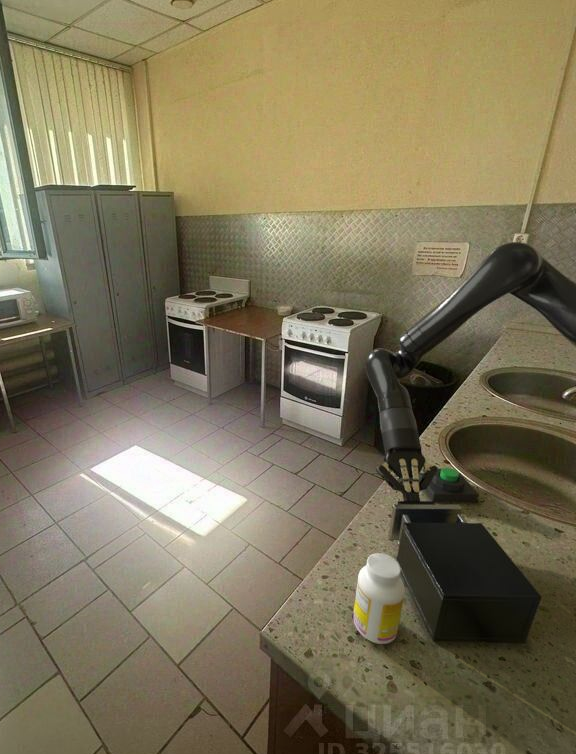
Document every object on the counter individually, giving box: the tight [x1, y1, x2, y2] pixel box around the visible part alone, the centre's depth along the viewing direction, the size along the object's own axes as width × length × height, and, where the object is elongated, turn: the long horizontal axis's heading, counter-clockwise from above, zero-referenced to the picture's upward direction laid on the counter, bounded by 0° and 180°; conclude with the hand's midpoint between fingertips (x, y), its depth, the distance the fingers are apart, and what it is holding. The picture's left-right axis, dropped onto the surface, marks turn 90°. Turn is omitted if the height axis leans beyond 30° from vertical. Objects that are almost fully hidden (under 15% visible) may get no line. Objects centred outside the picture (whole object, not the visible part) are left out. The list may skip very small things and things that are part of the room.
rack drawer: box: [388, 500, 469, 547], centre depth 74 cm, size 18×13×8 cm
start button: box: [440, 467, 460, 482], centre depth 92 cm, size 4×4×2 cm
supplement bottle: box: [353, 552, 406, 645], centre depth 61 cm, size 7×7×13 cm
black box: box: [396, 522, 542, 644], centre depth 66 cm, size 15×14×10 cm
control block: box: [419, 468, 480, 503], centre depth 93 cm, size 10×8×4 cm
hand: (414, 511), depth 82 cm, fingers closed
